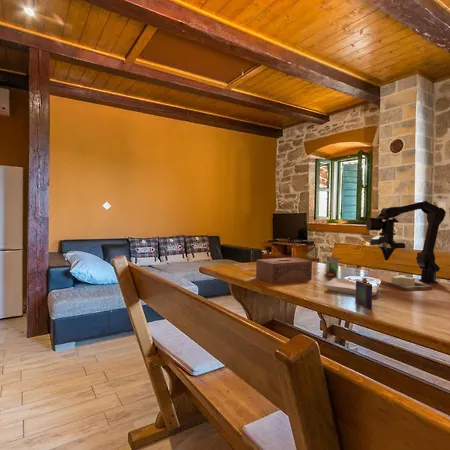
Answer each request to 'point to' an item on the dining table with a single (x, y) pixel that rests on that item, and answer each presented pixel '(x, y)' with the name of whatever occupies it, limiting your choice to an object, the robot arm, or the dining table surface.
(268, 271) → the tissue box cover
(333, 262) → the food container
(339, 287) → the salad plate
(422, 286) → the frame
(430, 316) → the dining table surface
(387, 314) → the dining table surface
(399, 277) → the T block
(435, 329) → the dining table surface
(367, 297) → the flask
